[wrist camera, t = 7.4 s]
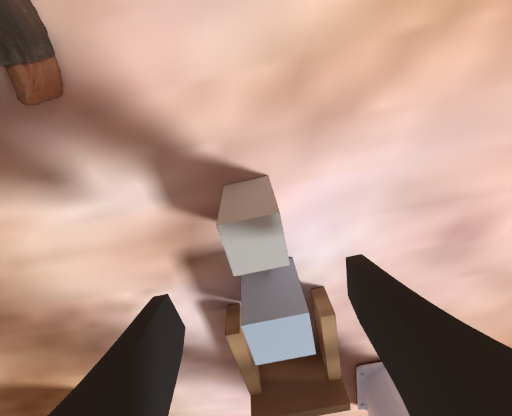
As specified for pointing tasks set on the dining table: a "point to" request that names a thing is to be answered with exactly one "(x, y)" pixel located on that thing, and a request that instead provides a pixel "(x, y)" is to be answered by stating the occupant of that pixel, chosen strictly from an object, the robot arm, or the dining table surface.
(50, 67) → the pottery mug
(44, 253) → the dining table surface
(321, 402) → the walnut lane
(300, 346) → the tethered block
